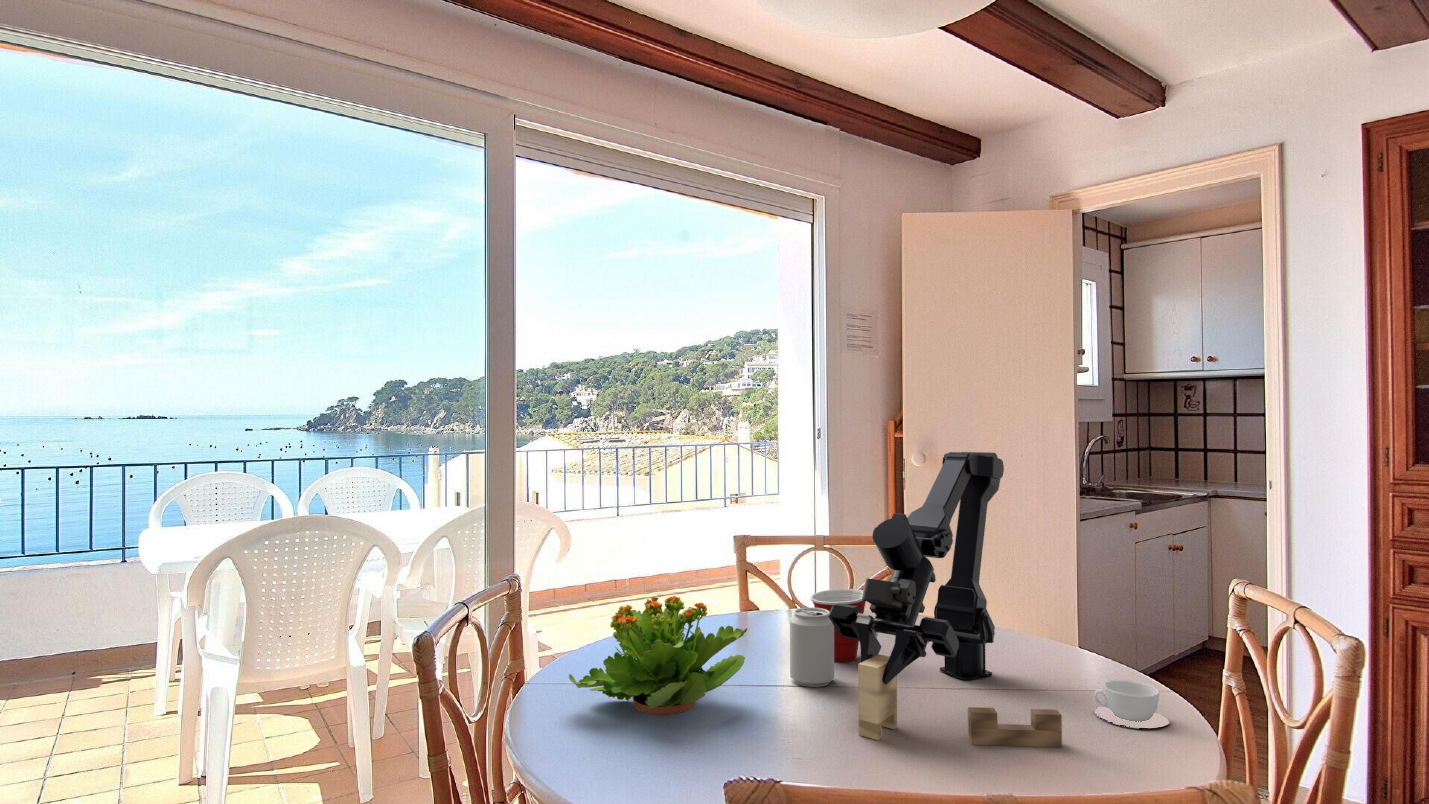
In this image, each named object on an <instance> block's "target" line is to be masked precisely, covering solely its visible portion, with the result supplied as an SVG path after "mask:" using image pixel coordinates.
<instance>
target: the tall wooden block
mask: <svg viewBox="0 0 1429 804" xmlns="http://www.w3.org/2000/svg"><path fill="white" fill-rule="evenodd" d="M889 657H890V656H888V655H884V654H880V653H879V654H877V655H875V656H873V657H871V658H869V659H867V660H865V661H863V662H861V661H860V662H859V663H858V664H857V666H858V668H857V671H858V672H857V673H858V676H857V677H858V678H857V679H858V680H857V681H858V682H857V683H858V685H857V687H858V689H857V690H858V695H857V696H858V736H861V737H865V738H867V739H872V740H876V741H879V740H881V739H882V727H885V728H887V729H891V730H896V729H897V728H898V675H896V676H895V677H894V678H893V679H892V680H891V681H890V682H889V683H888V684H884V683H883V682H882V678H883V674H884V670H885V668H886V665H887V663H888V660H889Z"/></svg>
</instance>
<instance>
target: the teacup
mask: <svg viewBox="0 0 1429 804" xmlns="http://www.w3.org/2000/svg"><path fill="white" fill-rule="evenodd" d="M1093 693H1094V694H1093V698H1094V701H1095V702H1096V703H1097V705H1098V707H1096V708H1100V707H1099V706H1102V707H1106V708H1109V709H1110V710H1111V711H1112V712H1113V713H1114V715H1115V716H1117V717H1119V718H1121V719H1125V720H1129V721H1135V722H1137V721H1138V722H1139V721H1140V722H1142V721H1146V720H1149V719H1150V718H1151V717H1152V716H1153V714H1154V713H1155V712H1157V710H1158V706H1159V705H1158V704H1159V701H1160V700H1159V699H1160V691H1159V689H1157V687H1155V686H1153V685H1151V684H1147V683H1143V682H1139V681H1134V680H1128V679H1127V680H1126V679H1125V680H1124V679H1117V680H1116V679H1114V680H1108V681H1105V682H1104V683H1103V689H1096V690H1095V691H1094V692H1093ZM1099 694H1101V695H1102V696H1103V697H1104V698H1105V701H1106V702H1102V701H1100V700H1099V699H1098V695H1099ZM1102 707H1101V708H1102ZM1096 708H1095V709H1096ZM1095 709H1094V711H1099V710H1097V709H1096V710H1095ZM1094 713H1095V715H1096V714H1098V715H1096V716H1097V717H1098V716H1101V715H1099V714H1101V713H1099V712H1098V713H1096V712H1094ZM1103 719H1105V718H1103ZM1103 719H1102V720H1103ZM1107 722H1108V723H1110V722H1111V721H1107ZM1112 722H1113V723H1112V724H1113V725H1117V726H1120V725H1123V724H1118V723H1114V721H1112ZM1126 728H1131V729H1139V728H1142V727H1133V726H1130V727H1129V726H1126ZM1143 728H1144V727H1143Z"/></svg>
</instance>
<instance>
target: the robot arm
mask: <svg viewBox="0 0 1429 804" xmlns="http://www.w3.org/2000/svg"><path fill="white" fill-rule="evenodd" d="M941 462H942V466H941V468H940V469H939V473H938V474H937V476H936V479H935V480H934V482H933V484H932V487H931V488H930V491H929V493H928V495H927V497H926V499H925V501H924V502H923V504H922V506H920V507H918V508H917V509H915V510H913V511H912V512H910V513H909V514H908V516H907V514H906V513H896V512H894V513H892V516H891V518H888V519H885V520H884V521H882V522H881V523H879V524H878V525H876V527H875V528H874V529H873V531H872V541H873V543H874V545H875V546H876V548H877V550H878V552H879V554H880V555H881V557H882V559H883V561H884V563H885V564H886V566H887V567H888V568H889V569H891V570H892V572H891V575H890V577H889V580H883V579H875V578H869V577H868V578H865V582H864V587H863V590H862V591H863V596H862V600H863V601H866V602H867V603H869V604H870V606H869V610H870V611H871V613H873V614H875V616H872V615H870V614H866V613H863V614H862V613H861V611H860V610H859V608H858V606H853V605H846V604H840V603H838V604H835V605H833V607H832V608H831V610H830V613H829V615H828V617H829V619H830V620H831V622H832V624H833V625H834V627H835V628H836V630H837V631H838V633H839V634H840V635H841V636H842V637H844V638H849V639H855V640H860V641H859V645H860V663H861V662H863V661H865V660H867V659H869V658H871V657H873V656H875V655H877V654H879V655H880V651H881V649H882V645H881V643H880V642H879V640H878V636H879V634H885V635H890V636H895V638H894V644H893V648H892V650H891V652H890V657H889V660H888V663H887V665H886V668H885V670H884V674H883V678H882V682H883V683H884V684H888V683H889V682H890V681H891V680H892V679H893V678H894V677H895V676H896V675H897V676H898V675H899V674H900V673H901V672H902V671H903V670H904V669H906V668H907V667H908V666H909V665H910V664H912V663H913V662H915V661H917V659H919V658H926V656H927V654H928V653H927V652H926V648H927V645H929V643H930V642H931V648H932V650H933V652H934V653H935V655H936V656H942V657H944V666H941V667H940V668H939V672H942V673H945V674H947V675H950V676H952V677H955V678H957V679H959V680H963V681H972V680H976V679H980V678H986V677H991V676H993V671H990V670H987V669H986V645H987V644H993V643H994V642H995V641H994V638H995V633H996V631H995V629H996V627H995V624H994V623H993V620H992V617H991V616H990V614H989V611H988V609H987V604H988V602H987V598H986V596H985V594H984V592H983V590H982V587H981V585H980V575H981V566H982V557H983V547H984V540H985V531H986V519H987V513H988V512H987V511H988V504H989V502H990V501H991V499H992V498H993V497H994V496H995V495H996V493H997V492H998V491H999V489H1000V484H1001V479H1002V478H1003V475H1004V472H1005V468H1004V467H1005V465H1004V461H1003V459H1001V458H999V457H998V454H997V453H996V452H985V451H984V452H982V451H949V452H946V453H944V455H943V457H942V461H941ZM957 507H958V514H957V515H958V516H957V523H956V532H955V538H954V539H955V540H954V539H953V537H954V534H953V531H952V529H951V522H952V518H953V517H954V514H955V512H956V509H957ZM953 543H954V546H953ZM952 546H953V547H954V549H953V558H952V566H951V573H950V578H949V580H948V581H947V582H946V583H945V584H940V586H939V588H938V590H937V598H936V599H937V601H936V603H935V605H934V610H933V616H934V617H927V616H925V617H922V618H921V619H920V622H919V624H916V623H917V620H918V617H919V614H924V612H925V609H926V606H925V605H924V599H925V596H926V594H927V591H928V588H929V585H930V583H935V582H936V581H937V580H936V574H935V568H934V565H933V564H932V562H931V560H930V559H929V558H933V559H943V558H945V557H946V556H947V554H948V552H950V550H951V548H952Z"/></svg>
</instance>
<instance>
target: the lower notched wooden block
mask: <svg viewBox="0 0 1429 804" xmlns="http://www.w3.org/2000/svg"><path fill="white" fill-rule="evenodd" d="M1062 717H1063V716H1062V713H1061V712H1060V711H1059V710H1058V709H1047V708H1046V709H1045V708H1043V709H1042V708H1031V709H1030V724H1020V723H1019V724H1017V723H1016V724H1013V723H1009V724H1008V723H998V712H997V710H996V708H995V707H979V706H978V707H977V706H976V707H973V706H972V707H971V706H970V707H969V706H967V724H968V725H967V730H968V731H967V732H968V733H967V735H968V737H967V739H968V741H969V743H970V744H971V745H974V746H975V745H977V746H1002V747H1003V746H1004V747H1005V746H1006V747H1007V746H1009V747H1011V746H1012V747H1035V748H1036V747H1037V748H1040V747H1041V748H1063V739H1062V738H1063V732H1062V731H1063V730H1062V729H1063V726H1062V724H1063V723H1062V721H1063V720H1062Z"/></svg>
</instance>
